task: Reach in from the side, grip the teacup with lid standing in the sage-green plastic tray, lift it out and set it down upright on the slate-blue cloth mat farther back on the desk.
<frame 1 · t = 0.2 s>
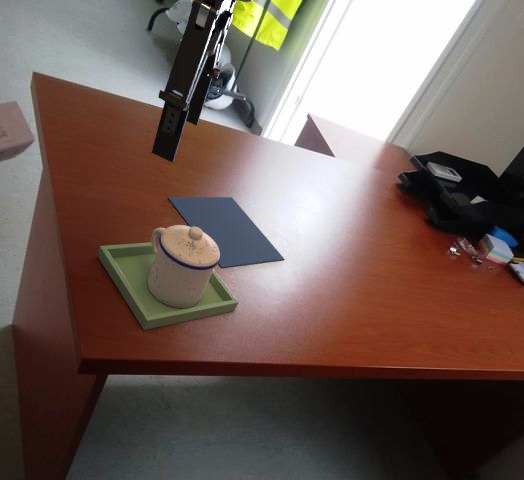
hand: (176, 137, 61), 20 cm above the table, tool pointing down, fingers open, 13 cm apart
mat: (226, 229, 90), on the table
teacup with lid: (168, 284, 72), resting on tray
tray: (168, 284, 72), on the table
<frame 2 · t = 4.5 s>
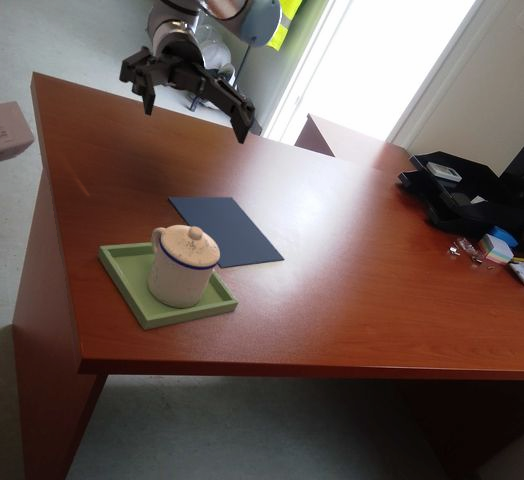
hand: (199, 121, 63), 22 cm above the table, tool horizontal, fingers open, 13 cm apart
nothing on the table moved.
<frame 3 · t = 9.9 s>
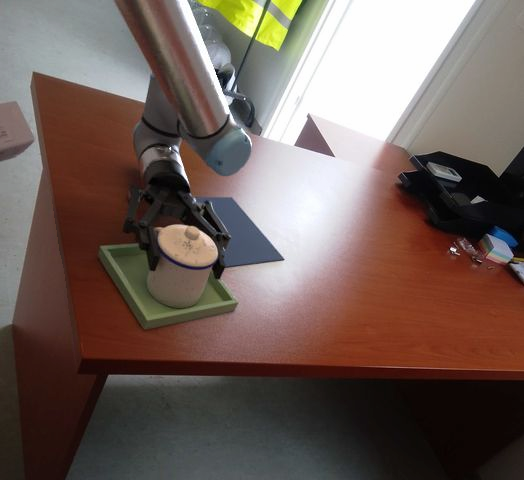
hand: (188, 268, 65), 7 cm above the table, tool horizontal, fingers closed on teacup with lid, 9 cm apart
teacup with lid: (167, 284, 72), resting on tray, touching gripper
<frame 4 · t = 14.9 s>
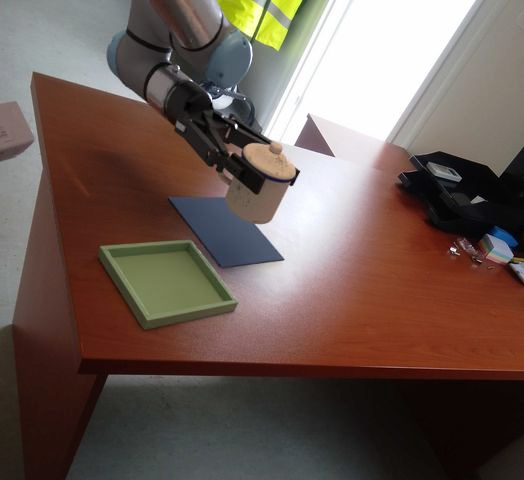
hand: (279, 182, 71), 18 cm above the table, tool horizontal, fingers closed on teacup with lid, 9 cm apart
teacup with lid: (240, 205, 76), point 11 cm above the table, touching gripper
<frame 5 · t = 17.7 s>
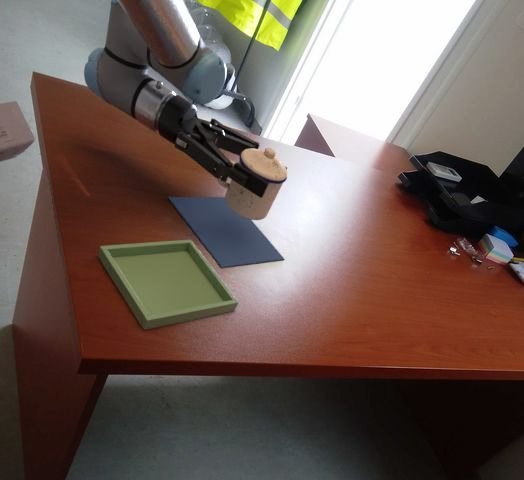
hand: (274, 182, 81), 13 cm above the table, tool horizontal, fingers closed on teacup with lid, 9 cm apart
teacup with lid: (238, 204, 86), point 6 cm above the table, touching gripper
when the fingers open (8 cm above the table, at t = 19.9 s): teacup with lid stays where it is, resting on mat.
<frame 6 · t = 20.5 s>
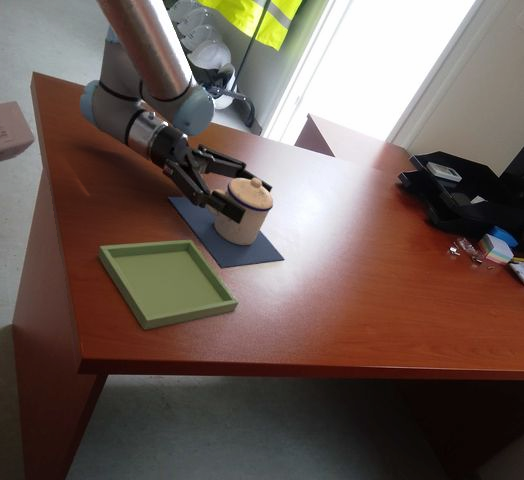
hand: (256, 204, 85), 8 cm above the table, tool horizontal, fingers open, 13 cm apart
teacup with lid: (226, 230, 89), resting on mat
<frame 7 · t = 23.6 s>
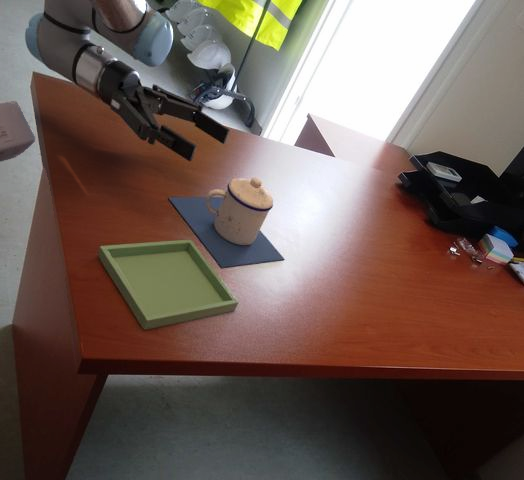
hand: (211, 144, 81), 13 cm above the table, tool horizontal, fingers open, 13 cm apart
nothing on the table moved.
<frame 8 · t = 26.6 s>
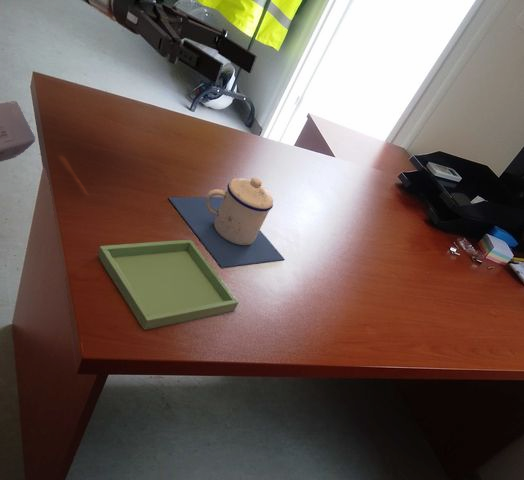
hand: (237, 69, 73), 26 cm above the table, tool horizontal, fingers open, 13 cm apart
nothing on the table moved.
at the end: teacup with lid inside the target area on the mat (0.4 cm from its centre), point 0.1 cm above the mat's base; teacup with lid tilted 0°; teacup with lid touching mat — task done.
